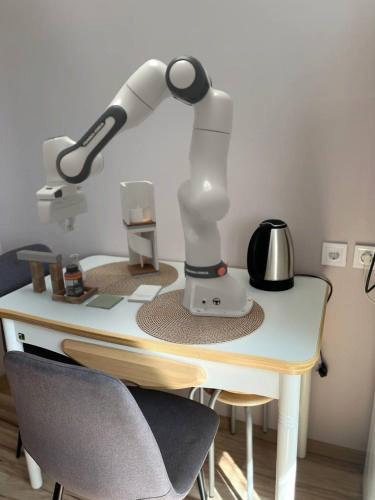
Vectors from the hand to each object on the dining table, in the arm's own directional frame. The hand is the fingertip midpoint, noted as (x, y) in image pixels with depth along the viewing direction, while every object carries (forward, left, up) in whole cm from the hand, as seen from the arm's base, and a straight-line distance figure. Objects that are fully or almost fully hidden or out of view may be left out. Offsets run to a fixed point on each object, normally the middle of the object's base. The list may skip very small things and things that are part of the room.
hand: (68, 231), depth 130 cm
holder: (+6, 0, -23) cm, 24 cm away
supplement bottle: (0, 0, -23) cm, 23 cm away
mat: (-12, +1, -23) cm, 26 cm away
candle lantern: (-11, -28, -23) cm, 38 cm away
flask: (+9, -13, -23) cm, 28 cm away
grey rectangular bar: (+14, 0, -11) cm, 17 cm away
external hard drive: (-22, -8, -24) cm, 34 cm away
